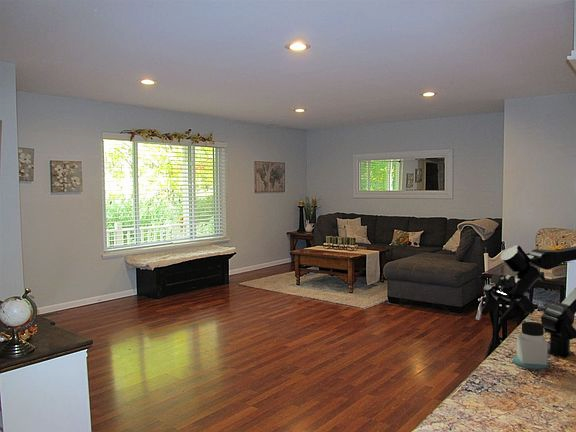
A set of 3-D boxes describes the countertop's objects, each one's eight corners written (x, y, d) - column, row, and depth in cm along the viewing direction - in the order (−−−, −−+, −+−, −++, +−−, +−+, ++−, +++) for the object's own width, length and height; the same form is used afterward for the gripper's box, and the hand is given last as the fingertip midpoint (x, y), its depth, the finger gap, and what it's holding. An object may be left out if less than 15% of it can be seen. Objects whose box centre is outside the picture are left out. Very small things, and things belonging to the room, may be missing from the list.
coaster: (522, 355, 158) (522, 352, 158) (554, 364, 150) (554, 361, 150) (506, 362, 152) (506, 359, 152) (538, 372, 144) (538, 369, 144)
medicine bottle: (547, 365, 147) (549, 326, 146) (522, 364, 148) (523, 325, 148) (540, 357, 154) (541, 319, 153) (516, 355, 155) (517, 318, 155)
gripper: (488, 259, 162) (458, 294, 160) (527, 269, 144) (494, 308, 142) (508, 282, 164) (479, 316, 163) (549, 294, 146) (516, 333, 145)
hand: (490, 318), depth 153 cm, fingers open, 9 cm apart
